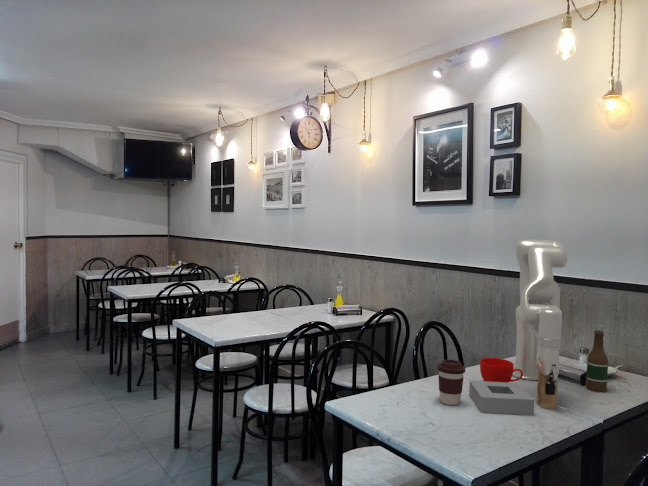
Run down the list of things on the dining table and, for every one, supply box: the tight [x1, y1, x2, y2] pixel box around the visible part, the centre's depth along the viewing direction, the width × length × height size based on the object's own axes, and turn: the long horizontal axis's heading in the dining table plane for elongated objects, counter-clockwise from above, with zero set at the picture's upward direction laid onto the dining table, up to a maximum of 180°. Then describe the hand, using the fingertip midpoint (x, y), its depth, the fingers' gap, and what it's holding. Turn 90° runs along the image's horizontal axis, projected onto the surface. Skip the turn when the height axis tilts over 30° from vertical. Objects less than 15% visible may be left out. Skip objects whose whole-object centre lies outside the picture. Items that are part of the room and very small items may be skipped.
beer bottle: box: [585, 330, 609, 393], centre depth 201 cm, size 8×8×24 cm
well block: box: [468, 380, 535, 416], centre depth 181 cm, size 18×18×6 cm
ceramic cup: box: [479, 357, 523, 383], centre depth 201 cm, size 13×17×10 cm
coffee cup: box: [436, 359, 466, 406], centre depth 182 cm, size 10×10×15 cm
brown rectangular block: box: [536, 371, 559, 410], centre depth 181 cm, size 5×5×14 cm
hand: (546, 391), depth 181 cm, fingers closed on brown rectangular block, 5 cm apart
